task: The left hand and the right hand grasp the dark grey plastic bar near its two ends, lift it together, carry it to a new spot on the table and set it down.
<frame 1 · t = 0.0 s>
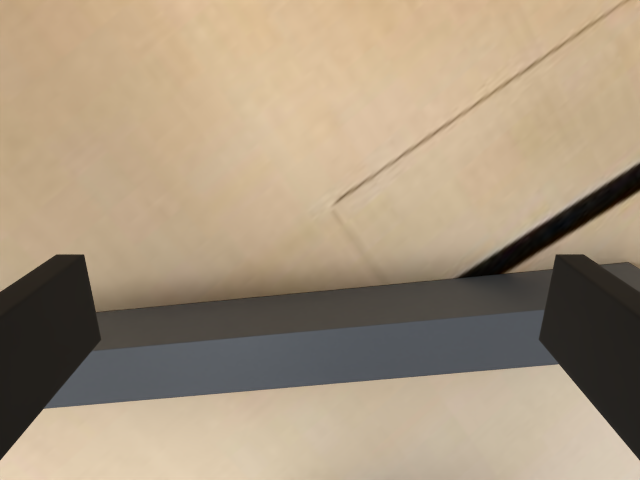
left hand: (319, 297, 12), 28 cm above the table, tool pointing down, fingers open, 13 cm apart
bar: (219, 325, 45), on the table
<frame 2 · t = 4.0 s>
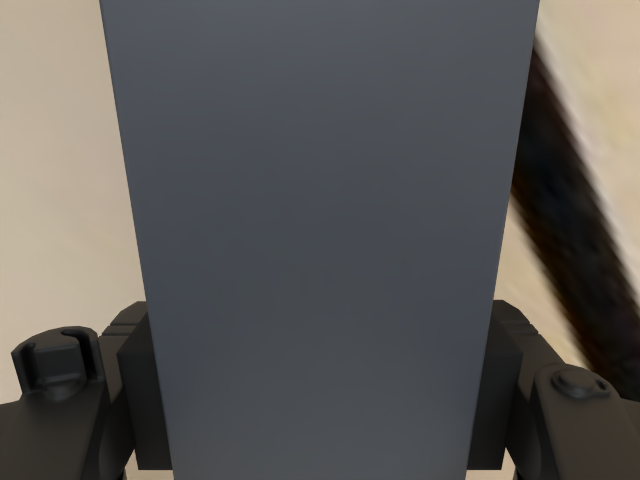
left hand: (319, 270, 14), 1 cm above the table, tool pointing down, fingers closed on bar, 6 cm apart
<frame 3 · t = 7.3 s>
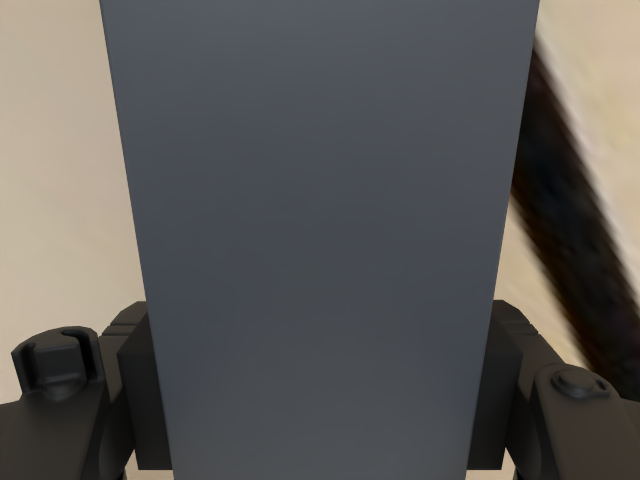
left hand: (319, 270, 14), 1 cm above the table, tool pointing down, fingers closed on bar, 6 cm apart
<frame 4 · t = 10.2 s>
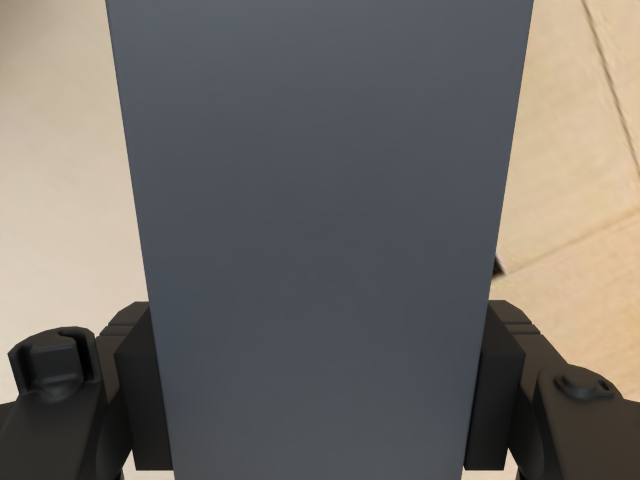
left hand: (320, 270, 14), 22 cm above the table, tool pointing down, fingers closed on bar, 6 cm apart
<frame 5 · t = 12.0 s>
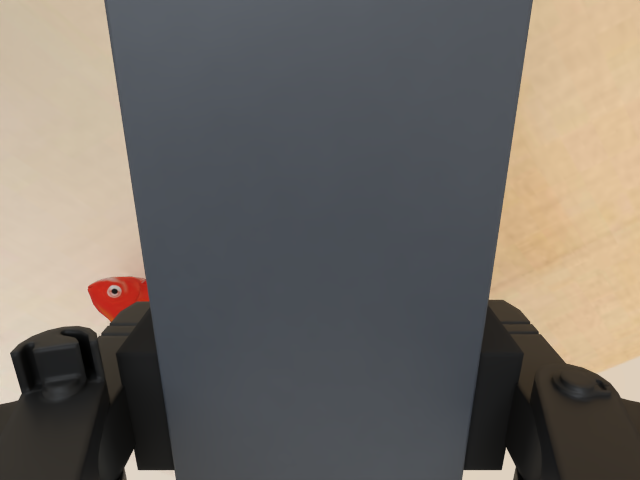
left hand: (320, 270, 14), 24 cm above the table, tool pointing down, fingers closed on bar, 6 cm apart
fish: (190, 311, 41), on the table
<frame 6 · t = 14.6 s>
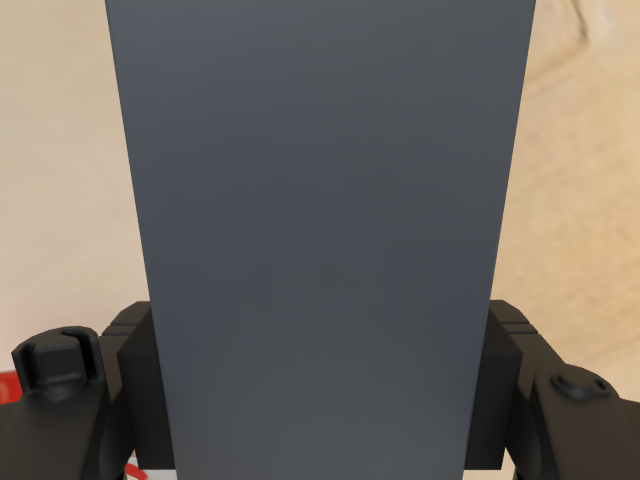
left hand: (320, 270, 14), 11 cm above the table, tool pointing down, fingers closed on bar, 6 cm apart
fish: (128, 400, 29), on the table
when the left hand's fingers open (2 cm above the table, at t = 16.7 s): bar stays where it is, on the table.
when the right hand's fingers open (2 cm above the table, at t = 16.7 s): bar stays where it is, on the table.
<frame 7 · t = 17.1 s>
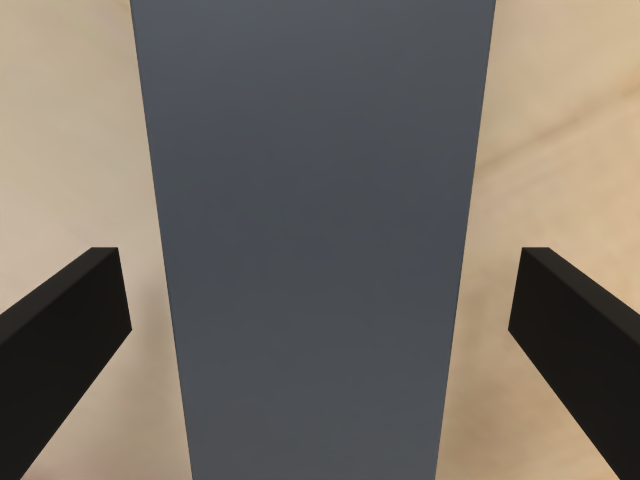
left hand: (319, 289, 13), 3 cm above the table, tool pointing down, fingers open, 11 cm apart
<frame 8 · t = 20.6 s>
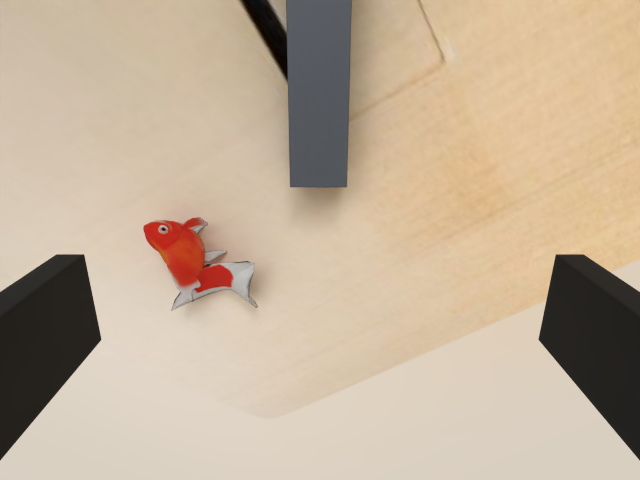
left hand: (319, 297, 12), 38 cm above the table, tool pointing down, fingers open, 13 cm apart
fish: (215, 253, 53), on the table
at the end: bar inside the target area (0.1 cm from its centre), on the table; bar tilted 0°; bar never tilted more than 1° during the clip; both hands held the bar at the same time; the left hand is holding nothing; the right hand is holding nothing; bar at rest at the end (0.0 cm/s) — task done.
